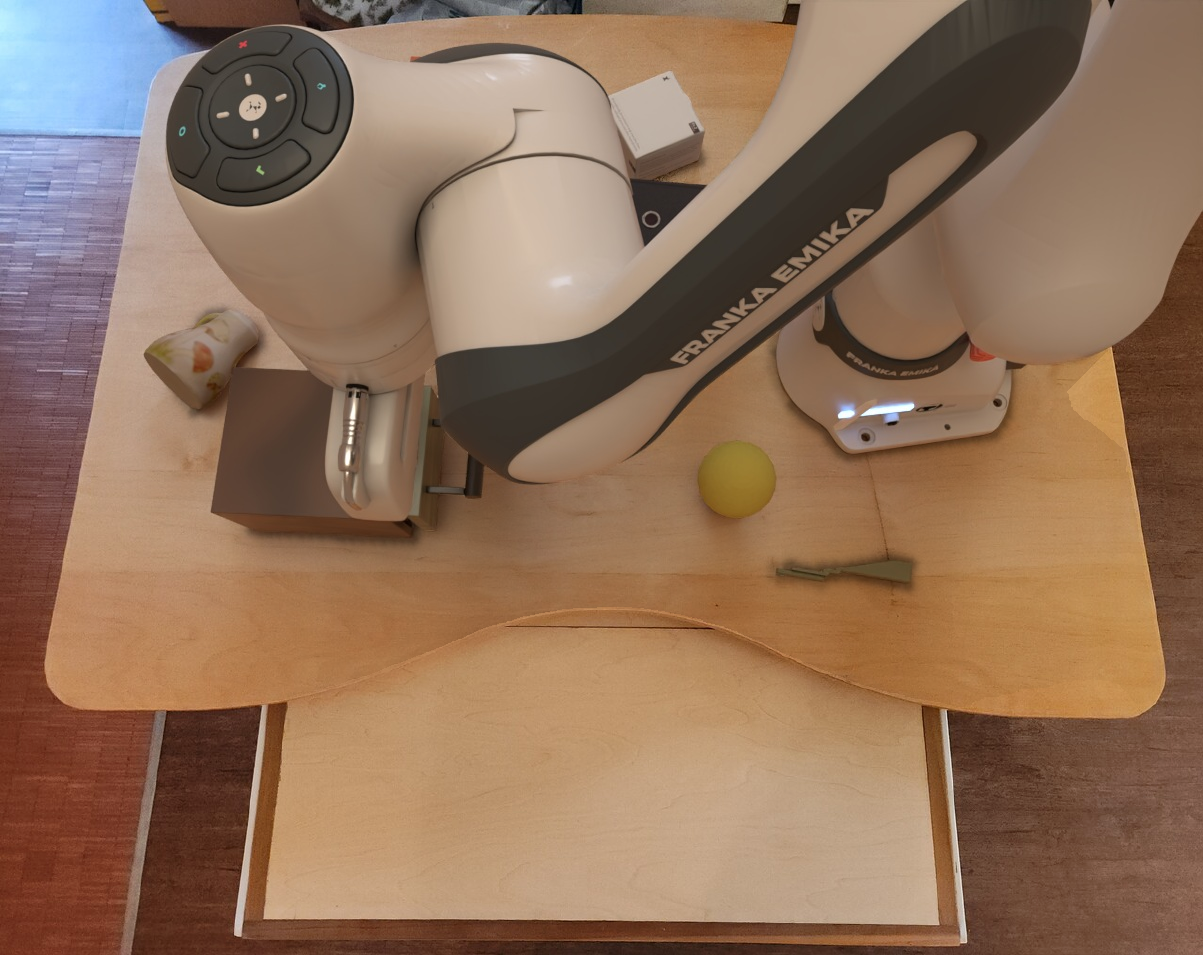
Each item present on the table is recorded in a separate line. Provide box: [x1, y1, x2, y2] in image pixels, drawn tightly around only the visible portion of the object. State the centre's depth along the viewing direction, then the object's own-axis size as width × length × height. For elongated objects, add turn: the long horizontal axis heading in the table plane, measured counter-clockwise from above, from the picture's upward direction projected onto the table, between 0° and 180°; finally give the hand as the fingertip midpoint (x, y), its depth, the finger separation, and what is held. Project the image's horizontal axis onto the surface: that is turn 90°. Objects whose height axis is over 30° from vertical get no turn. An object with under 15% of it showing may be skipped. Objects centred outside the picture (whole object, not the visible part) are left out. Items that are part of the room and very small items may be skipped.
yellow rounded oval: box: [696, 439, 777, 519], centre depth 72 cm, size 7×7×10 cm
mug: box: [143, 309, 259, 410], centre depth 77 cm, size 8×10×10 cm
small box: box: [608, 70, 706, 181], centre depth 83 cm, size 8×8×5 cm
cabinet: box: [210, 366, 415, 539], centre depth 73 cm, size 15×13×9 cm
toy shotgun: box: [775, 559, 913, 584], centre depth 75 cm, size 12×2×1 cm, turn 89°
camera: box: [629, 178, 708, 247], centre depth 77 cm, size 11×11×15 cm
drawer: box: [403, 385, 485, 532], centre depth 73 cm, size 18×11×7 cm, turn 88°
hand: (412, 391), depth 57 cm, fingers open, 8 cm apart
